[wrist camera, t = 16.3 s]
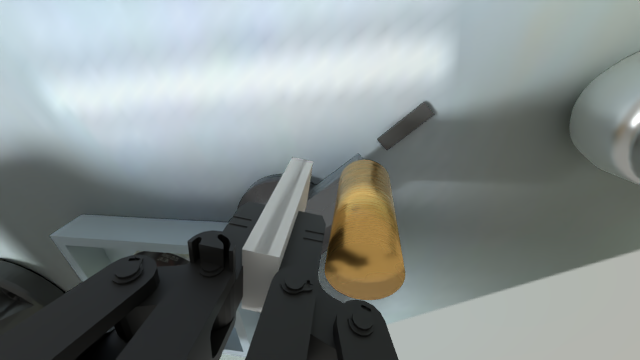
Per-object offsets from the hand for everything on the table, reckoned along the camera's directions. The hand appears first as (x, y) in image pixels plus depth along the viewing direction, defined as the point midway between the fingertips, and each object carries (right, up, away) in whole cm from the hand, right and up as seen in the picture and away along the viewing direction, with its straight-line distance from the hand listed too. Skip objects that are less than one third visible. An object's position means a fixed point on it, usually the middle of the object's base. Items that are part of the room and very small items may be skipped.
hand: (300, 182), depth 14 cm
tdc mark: (+6, +4, +3) cm, 8 cm away
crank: (+1, -2, +6) cm, 6 cm away
